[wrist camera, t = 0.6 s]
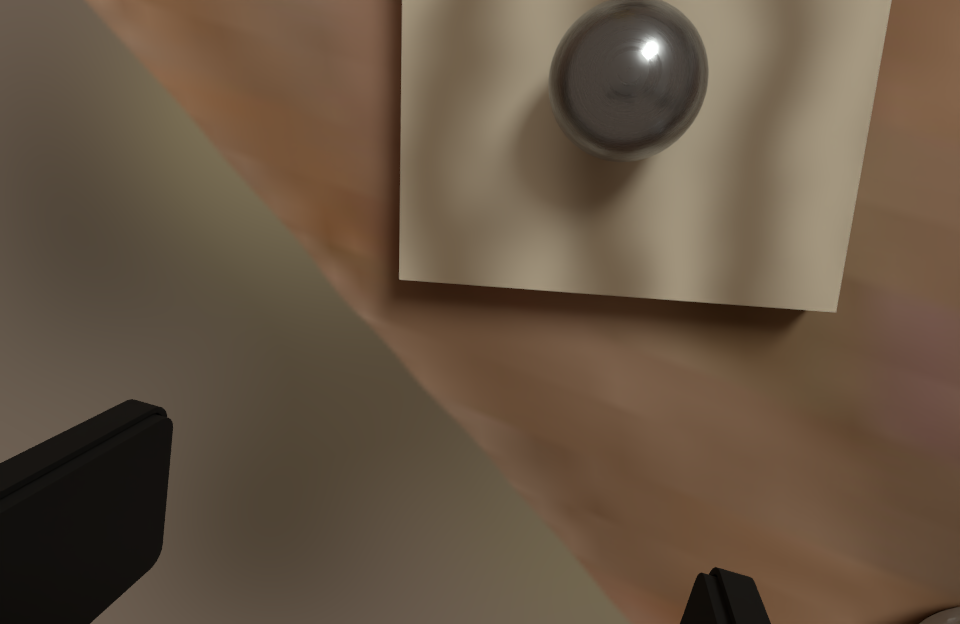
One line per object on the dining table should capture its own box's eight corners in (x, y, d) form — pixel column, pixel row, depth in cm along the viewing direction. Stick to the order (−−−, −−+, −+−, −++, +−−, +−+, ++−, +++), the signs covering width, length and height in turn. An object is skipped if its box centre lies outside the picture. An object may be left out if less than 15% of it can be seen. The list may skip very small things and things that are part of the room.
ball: (703, 17, 26) (734, -28, 20) (686, 165, 27) (711, 164, 21) (558, 16, 27) (547, -26, 21) (549, 160, 28) (536, 157, 22)
